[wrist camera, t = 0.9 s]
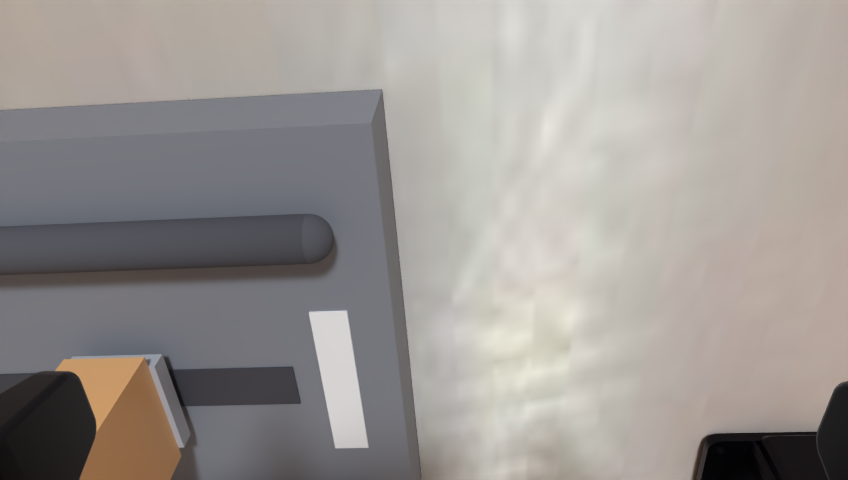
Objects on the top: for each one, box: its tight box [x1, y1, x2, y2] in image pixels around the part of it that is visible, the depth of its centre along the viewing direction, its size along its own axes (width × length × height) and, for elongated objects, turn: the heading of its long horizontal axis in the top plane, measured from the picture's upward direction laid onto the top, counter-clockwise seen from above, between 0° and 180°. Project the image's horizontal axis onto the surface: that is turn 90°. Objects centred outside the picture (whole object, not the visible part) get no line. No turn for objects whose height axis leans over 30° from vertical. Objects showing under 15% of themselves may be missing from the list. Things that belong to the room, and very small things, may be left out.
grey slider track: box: [0, 214, 334, 275], centre depth 21 cm, size 13×21×1 cm, turn 94°
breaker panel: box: [0, 89, 422, 480], centre depth 23 cm, size 18×24×3 cm
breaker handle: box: [55, 354, 190, 480], centre depth 18 cm, size 4×3×6 cm
